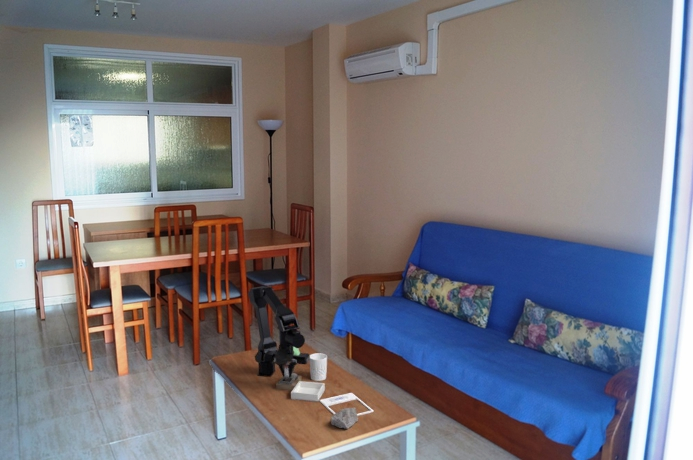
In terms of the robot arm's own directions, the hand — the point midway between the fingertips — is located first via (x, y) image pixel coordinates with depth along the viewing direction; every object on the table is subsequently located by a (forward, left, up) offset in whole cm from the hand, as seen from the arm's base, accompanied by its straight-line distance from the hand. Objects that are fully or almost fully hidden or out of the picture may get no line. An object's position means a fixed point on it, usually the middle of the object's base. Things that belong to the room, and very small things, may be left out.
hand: (287, 376), depth 238 cm
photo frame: (+28, -12, -6) cm, 31 cm away
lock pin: (0, 0, -2) cm, 2 cm away
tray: (+11, -5, -5) cm, 12 cm away
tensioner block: (0, +2, -5) cm, 6 cm away
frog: (-7, +28, -5) cm, 30 cm away
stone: (+31, -26, -5) cm, 40 cm away
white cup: (+10, +12, -5) cm, 17 cm away
